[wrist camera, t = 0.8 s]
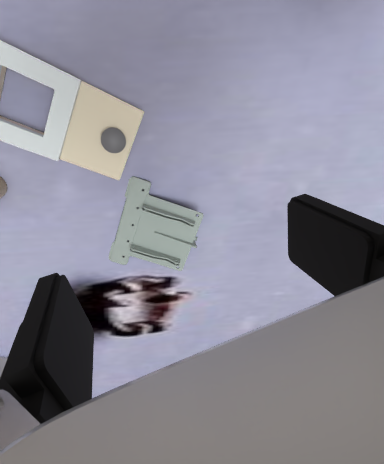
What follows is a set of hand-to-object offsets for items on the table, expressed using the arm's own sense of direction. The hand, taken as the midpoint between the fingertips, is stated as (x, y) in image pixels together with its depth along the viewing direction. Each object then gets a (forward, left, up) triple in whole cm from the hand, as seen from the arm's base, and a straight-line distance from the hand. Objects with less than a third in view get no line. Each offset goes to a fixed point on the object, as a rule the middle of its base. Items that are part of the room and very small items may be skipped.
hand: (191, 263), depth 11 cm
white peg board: (0, -13, -31) cm, 34 cm away
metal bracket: (+11, +8, -32) cm, 35 cm away
